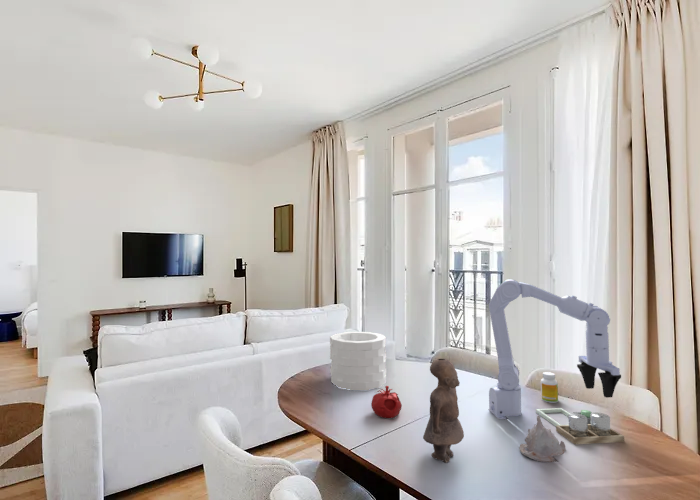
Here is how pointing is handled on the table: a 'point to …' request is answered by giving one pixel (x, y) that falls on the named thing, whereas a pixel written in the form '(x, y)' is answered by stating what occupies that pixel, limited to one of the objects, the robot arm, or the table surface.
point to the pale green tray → (552, 410)
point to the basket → (358, 360)
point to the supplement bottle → (549, 388)
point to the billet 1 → (578, 425)
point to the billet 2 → (600, 424)
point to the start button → (586, 413)
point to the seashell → (542, 444)
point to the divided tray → (590, 436)
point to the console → (587, 418)
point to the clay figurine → (444, 411)
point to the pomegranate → (386, 404)
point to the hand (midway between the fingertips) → (598, 392)
